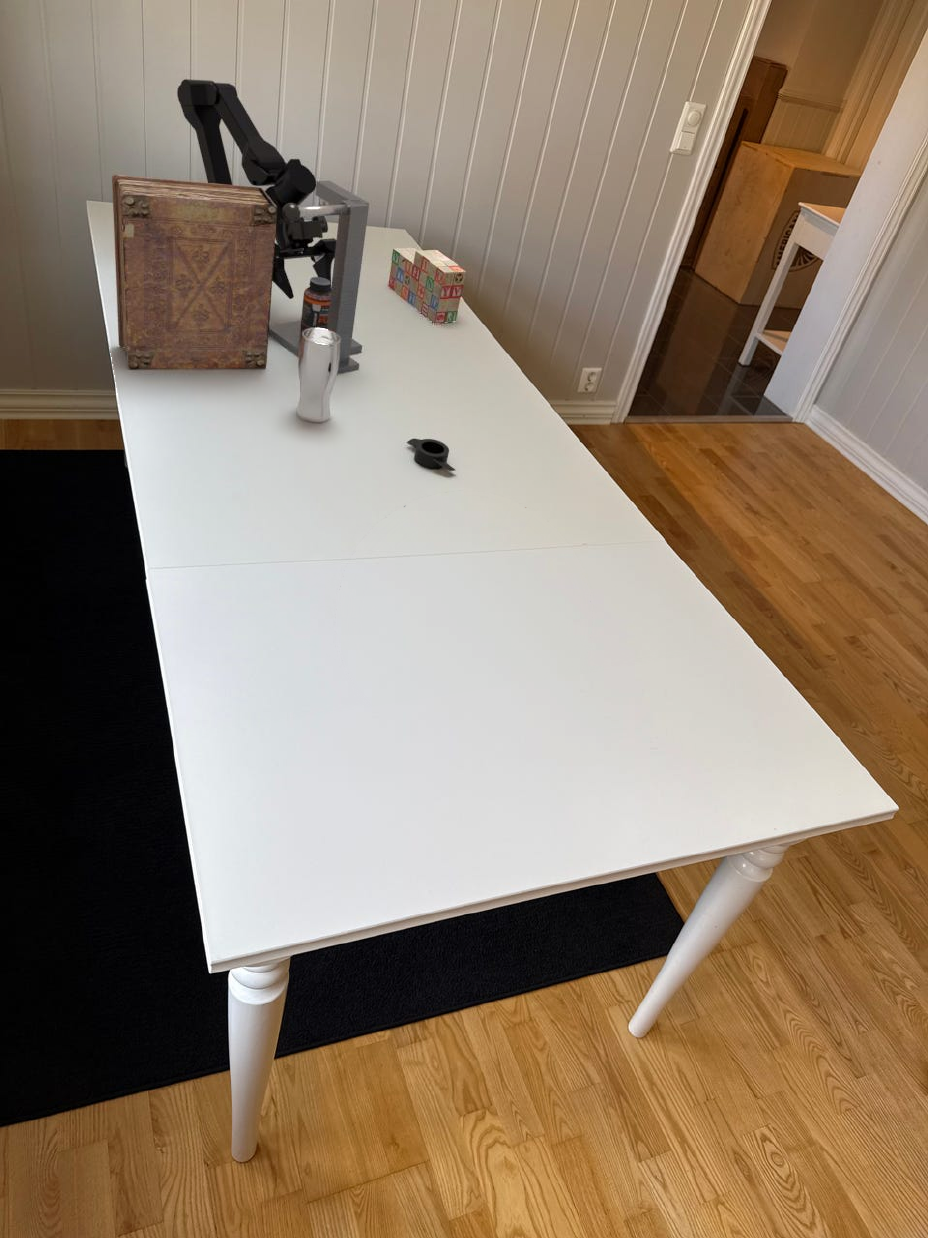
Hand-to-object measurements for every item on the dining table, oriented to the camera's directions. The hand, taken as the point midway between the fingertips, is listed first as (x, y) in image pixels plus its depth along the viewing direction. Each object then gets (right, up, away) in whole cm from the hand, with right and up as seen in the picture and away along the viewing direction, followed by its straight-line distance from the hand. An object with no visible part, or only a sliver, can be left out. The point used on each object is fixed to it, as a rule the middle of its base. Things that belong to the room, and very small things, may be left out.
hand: (310, 295), depth 176 cm
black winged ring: (+25, -37, -21) cm, 50 cm away
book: (-20, -16, -11) cm, 28 cm away
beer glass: (+3, -28, -18) cm, 33 cm away
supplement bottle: (0, -7, +4) cm, 8 cm away
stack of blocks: (+21, +10, +33) cm, 40 cm away
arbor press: (-2, -11, 0) cm, 12 cm away
